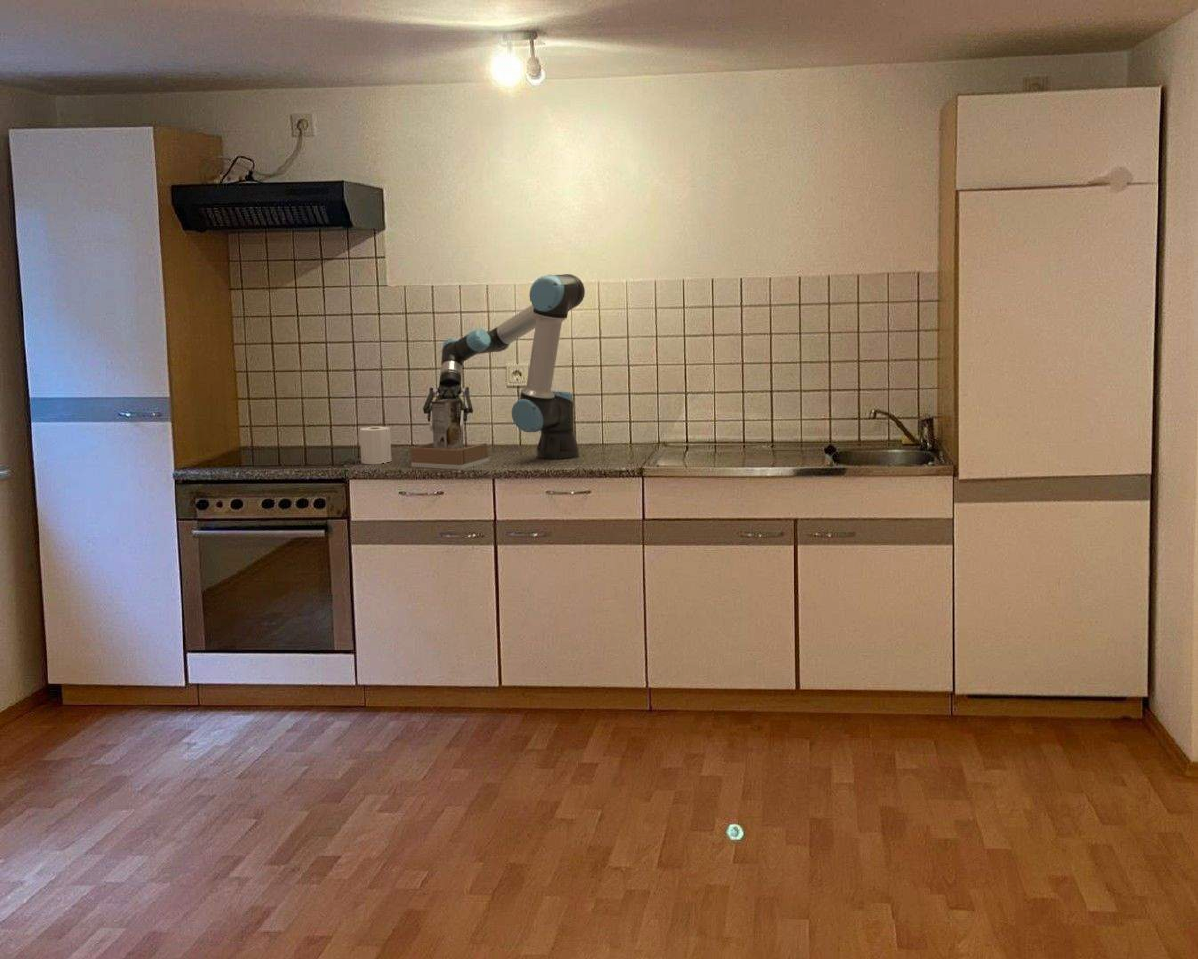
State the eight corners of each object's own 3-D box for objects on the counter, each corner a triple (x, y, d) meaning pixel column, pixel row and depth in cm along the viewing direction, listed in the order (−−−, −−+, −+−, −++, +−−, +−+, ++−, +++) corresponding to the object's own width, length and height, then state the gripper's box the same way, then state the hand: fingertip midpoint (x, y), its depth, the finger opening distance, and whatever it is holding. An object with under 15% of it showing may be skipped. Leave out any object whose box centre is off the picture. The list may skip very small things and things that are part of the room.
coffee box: (449, 444, 510) (448, 398, 507) (464, 445, 506) (462, 399, 504) (432, 448, 502) (430, 401, 500) (447, 449, 499) (445, 402, 496)
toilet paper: (397, 461, 514) (395, 427, 512) (372, 465, 507) (370, 430, 505) (380, 459, 521) (378, 425, 519) (355, 462, 514) (354, 428, 512)
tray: (488, 461, 508) (488, 443, 507) (461, 469, 493) (460, 450, 492) (440, 459, 517) (439, 440, 516) (411, 466, 501) (410, 448, 500)
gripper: (483, 383, 516) (480, 434, 503) (420, 384, 516) (415, 435, 504) (481, 369, 510) (478, 420, 497) (417, 370, 510) (412, 421, 497)
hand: (446, 428), depth 500 cm, fingers closed on coffee box, 10 cm apart
